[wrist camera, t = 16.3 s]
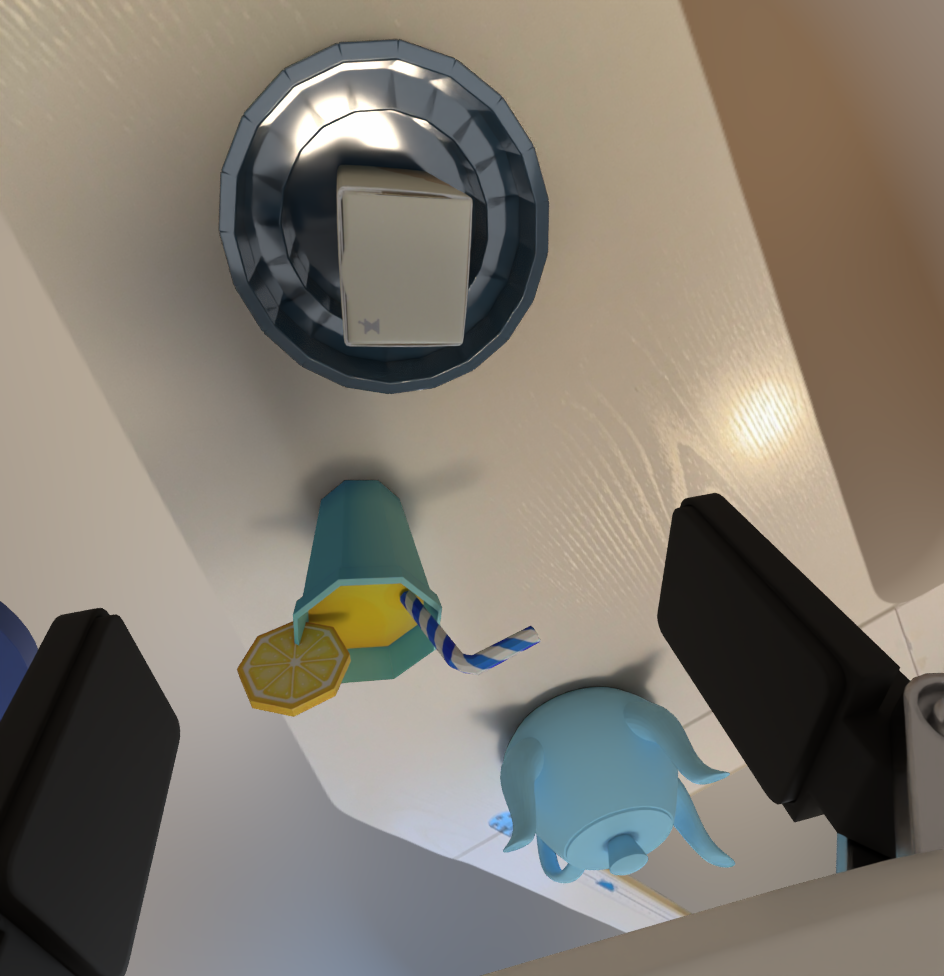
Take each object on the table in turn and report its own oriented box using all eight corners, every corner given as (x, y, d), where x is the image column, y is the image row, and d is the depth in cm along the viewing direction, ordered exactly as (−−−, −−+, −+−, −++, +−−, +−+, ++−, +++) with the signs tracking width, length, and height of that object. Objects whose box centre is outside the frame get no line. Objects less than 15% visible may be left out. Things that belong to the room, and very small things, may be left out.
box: (424, 280, 30) (464, 356, 21) (339, 277, 29) (342, 355, 20) (429, 164, 27) (476, 194, 18) (334, 156, 26) (335, 185, 17)
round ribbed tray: (278, 362, 32) (268, 410, 27) (201, 61, 24) (168, 50, 19) (515, 333, 33) (546, 373, 28) (510, 44, 26) (552, 30, 21)
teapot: (654, 640, 51) (732, 771, 41) (673, 749, 62) (739, 874, 52) (469, 707, 51) (503, 855, 41) (520, 805, 62) (557, 941, 52)
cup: (459, 422, 36) (525, 590, 23) (490, 517, 40) (559, 700, 28) (242, 497, 36) (194, 705, 23) (297, 584, 40) (281, 797, 28)
